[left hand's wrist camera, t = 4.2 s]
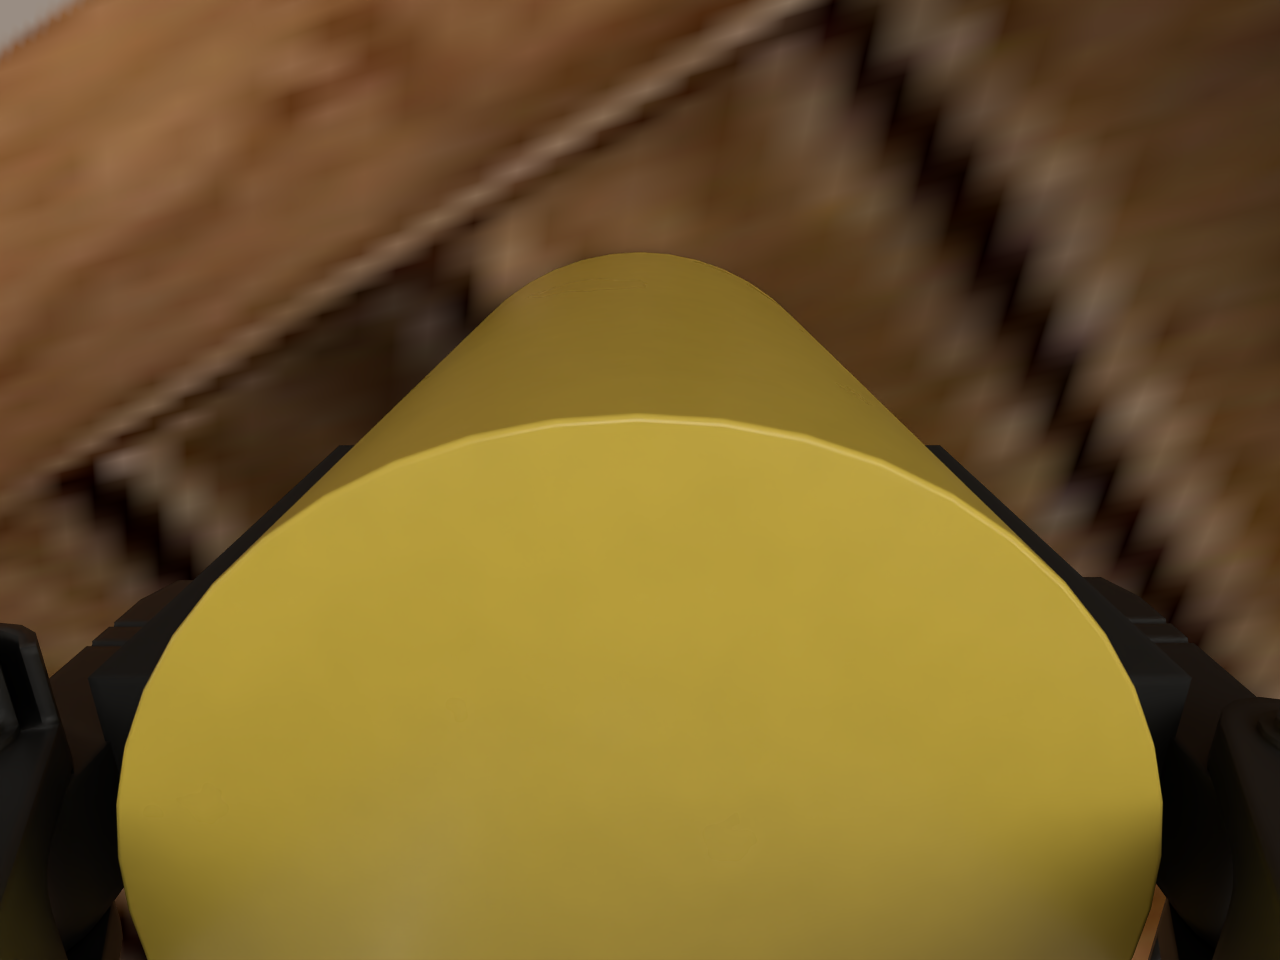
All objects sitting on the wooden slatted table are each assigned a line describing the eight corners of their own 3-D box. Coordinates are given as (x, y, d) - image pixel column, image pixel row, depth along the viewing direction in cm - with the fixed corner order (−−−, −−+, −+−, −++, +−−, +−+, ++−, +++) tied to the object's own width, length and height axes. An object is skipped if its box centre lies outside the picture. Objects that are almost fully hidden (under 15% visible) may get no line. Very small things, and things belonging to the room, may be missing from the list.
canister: (554, 165, 15) (369, 156, 5) (926, 388, 16) (1405, 755, 6) (371, 530, 17) (-9, 1041, 7) (706, 696, 19) (786, 1317, 9)
